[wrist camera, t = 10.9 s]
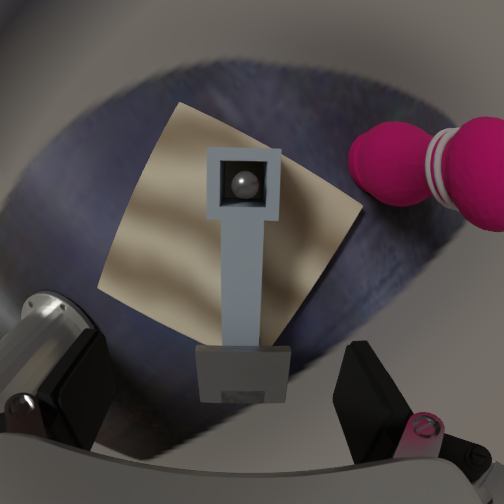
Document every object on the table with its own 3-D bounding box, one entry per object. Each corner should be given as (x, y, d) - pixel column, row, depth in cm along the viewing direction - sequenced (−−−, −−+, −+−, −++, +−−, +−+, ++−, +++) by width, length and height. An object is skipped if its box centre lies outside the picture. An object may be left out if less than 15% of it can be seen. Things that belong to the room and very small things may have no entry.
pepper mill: (416, 180, 27) (581, 224, 7) (361, 211, 27) (518, 298, 8) (389, 115, 25) (558, 87, 6) (329, 143, 26) (489, 123, 6)
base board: (256, 360, 32) (256, 366, 31) (101, 283, 29) (97, 287, 28) (358, 203, 27) (363, 205, 26) (182, 104, 24) (179, 101, 23)
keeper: (208, 296, 30) (194, 350, 21) (278, 297, 30) (291, 351, 21) (210, 341, 31) (200, 402, 22) (275, 342, 31) (284, 402, 22)
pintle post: (249, 192, 27) (250, 203, 20) (231, 183, 26) (226, 190, 19) (258, 175, 26) (263, 180, 19) (241, 165, 26) (239, 166, 19)
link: (266, 319, 29) (270, 352, 24) (215, 319, 29) (210, 351, 24) (273, 151, 25) (281, 148, 19) (215, 150, 24) (207, 147, 19)
